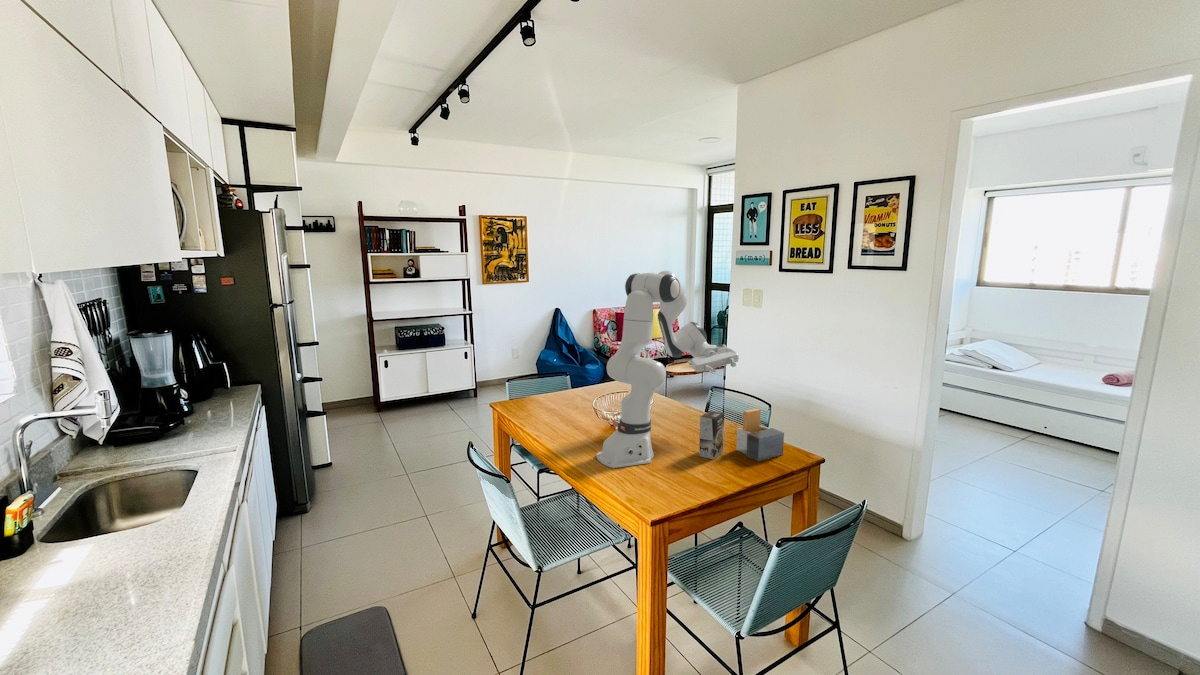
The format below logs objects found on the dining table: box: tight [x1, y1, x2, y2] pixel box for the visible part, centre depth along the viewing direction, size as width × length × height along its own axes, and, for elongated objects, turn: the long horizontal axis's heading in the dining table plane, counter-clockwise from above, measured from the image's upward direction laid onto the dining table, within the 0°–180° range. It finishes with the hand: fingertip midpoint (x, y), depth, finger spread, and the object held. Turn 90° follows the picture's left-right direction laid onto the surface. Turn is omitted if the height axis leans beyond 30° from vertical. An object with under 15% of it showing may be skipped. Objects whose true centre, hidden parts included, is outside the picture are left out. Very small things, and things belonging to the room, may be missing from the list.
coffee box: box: [698, 410, 725, 460], centre depth 189 cm, size 9×6×16 cm
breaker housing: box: [735, 424, 785, 463], centre depth 191 cm, size 13×12×9 cm
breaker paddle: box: [742, 407, 761, 433], centre depth 193 cm, size 7×2×10 cm, turn 118°
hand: (724, 367), depth 202 cm, fingers open, 8 cm apart
